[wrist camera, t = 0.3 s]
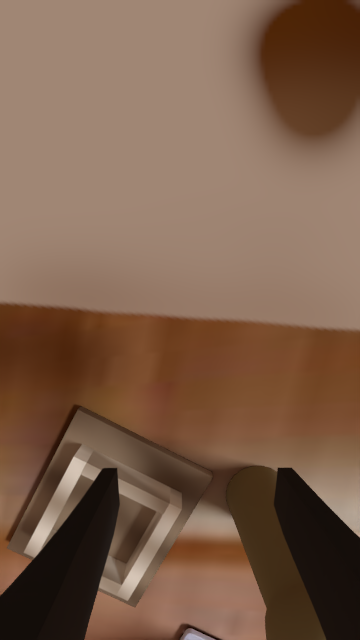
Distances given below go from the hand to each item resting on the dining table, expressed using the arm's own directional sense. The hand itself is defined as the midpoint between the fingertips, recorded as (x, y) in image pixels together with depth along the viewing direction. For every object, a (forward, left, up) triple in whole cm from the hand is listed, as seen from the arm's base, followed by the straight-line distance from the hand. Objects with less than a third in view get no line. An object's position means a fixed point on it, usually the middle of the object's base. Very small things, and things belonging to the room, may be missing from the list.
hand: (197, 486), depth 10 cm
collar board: (-14, +1, -10) cm, 18 cm away
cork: (-6, -11, -11) cm, 16 cm away
